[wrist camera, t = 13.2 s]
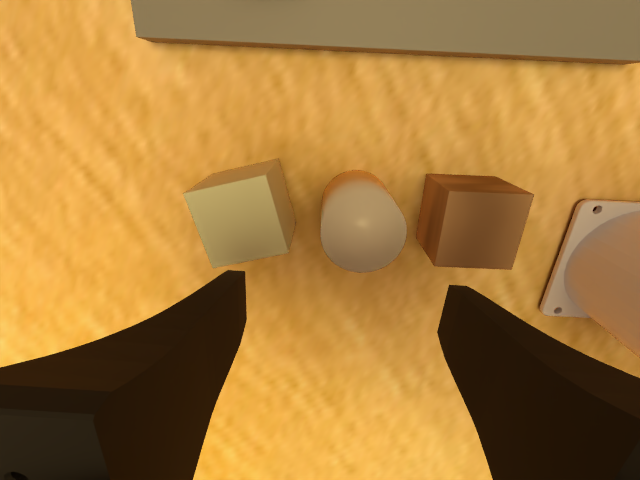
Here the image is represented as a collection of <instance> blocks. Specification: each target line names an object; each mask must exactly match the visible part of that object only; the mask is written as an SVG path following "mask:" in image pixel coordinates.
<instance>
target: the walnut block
mask: <svg viewBox="0 0 640 480" xmlns="http://www.w3.org/2000/svg"><path fill="white" fill-rule="evenodd" d="M533 197H534V194H532V193H529V192H527V191H525V190H523V189H521V188H519V187H517V186H514V185H512V184H510V183H508V182H506V181H504V180H502V179H500V178H497V177H494V176H470V175H445V174H426V179H425V185H424V192H423V198H422V204H421V210H420V216H419V222H418V228H417V234H416V238H417V240H418V241H419V243H420V244H421V246H422V247H423V249H424V251H425V252H426V254H427V255H428V257H429V258H430V260H431V261H432V263H433V265H434V266H438V267H462V268H486V269H510V270H512V267H513V263H514V260H515V257H516V253H517V250H518V247H519V244H520V240H521V237H522V234H523V230H524V227H525V224H526V220H527V217H528V214H529V210H530V207H531V204H532V200H533Z"/></svg>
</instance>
